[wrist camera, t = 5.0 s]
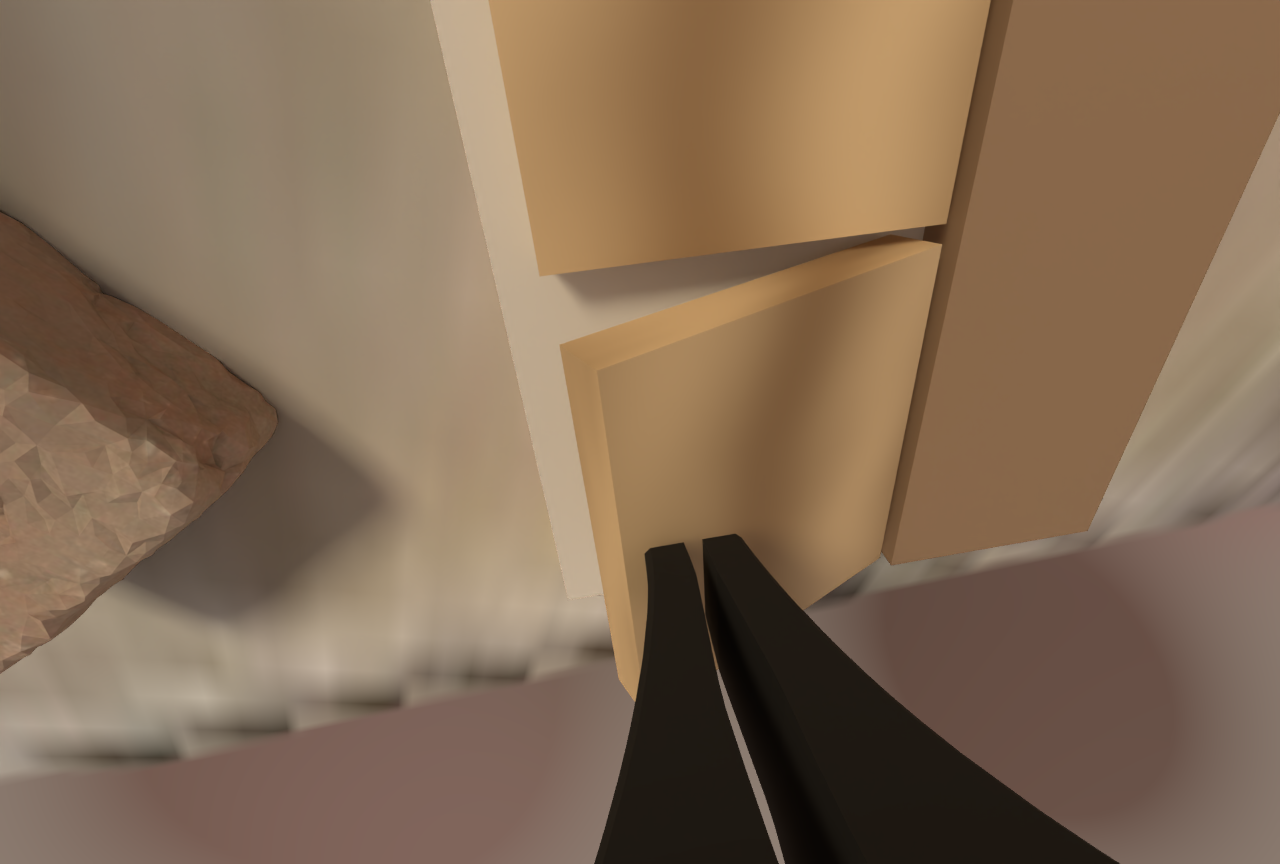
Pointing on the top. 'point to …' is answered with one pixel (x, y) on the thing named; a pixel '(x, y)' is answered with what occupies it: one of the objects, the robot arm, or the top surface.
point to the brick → (99, 439)
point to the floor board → (960, 260)
